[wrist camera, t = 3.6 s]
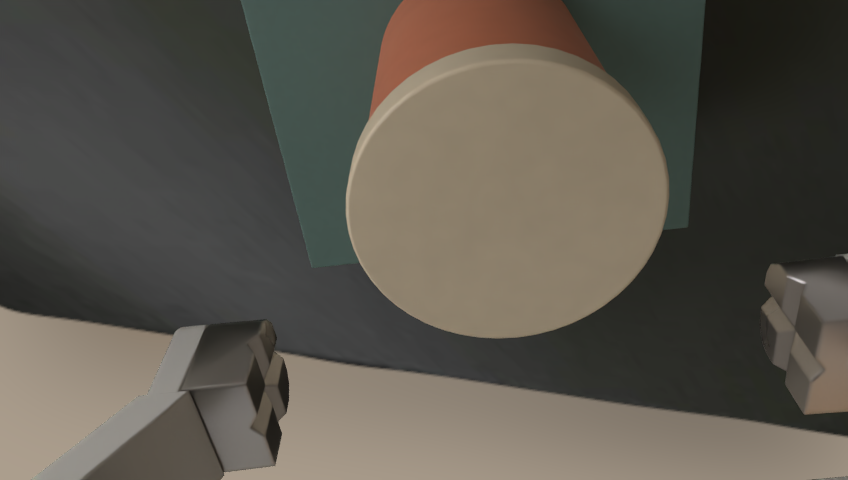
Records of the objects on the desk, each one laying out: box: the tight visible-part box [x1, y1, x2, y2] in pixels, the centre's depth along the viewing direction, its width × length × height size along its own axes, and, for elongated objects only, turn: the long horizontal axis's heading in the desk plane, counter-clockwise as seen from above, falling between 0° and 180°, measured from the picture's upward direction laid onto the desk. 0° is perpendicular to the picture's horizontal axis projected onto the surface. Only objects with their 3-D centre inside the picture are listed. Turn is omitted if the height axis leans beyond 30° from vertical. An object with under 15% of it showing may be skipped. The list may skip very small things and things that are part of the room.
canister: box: [346, 0, 669, 338], centre depth 18 cm, size 7×7×9 cm
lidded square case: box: [241, 0, 706, 268], centre depth 25 cm, size 14×14×7 cm
